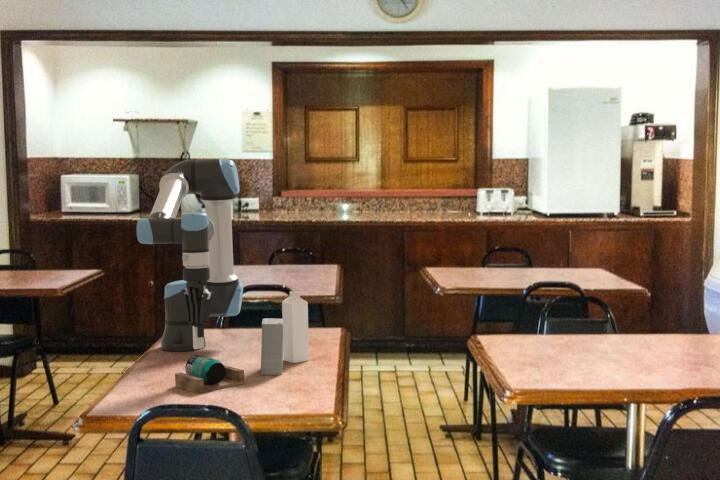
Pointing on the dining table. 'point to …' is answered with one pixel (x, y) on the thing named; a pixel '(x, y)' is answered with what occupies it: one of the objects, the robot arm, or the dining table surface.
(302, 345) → the milk
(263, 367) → the skincare box
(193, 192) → the robot arm
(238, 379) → the cradle
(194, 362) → the beverage can
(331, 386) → the dining table surface
